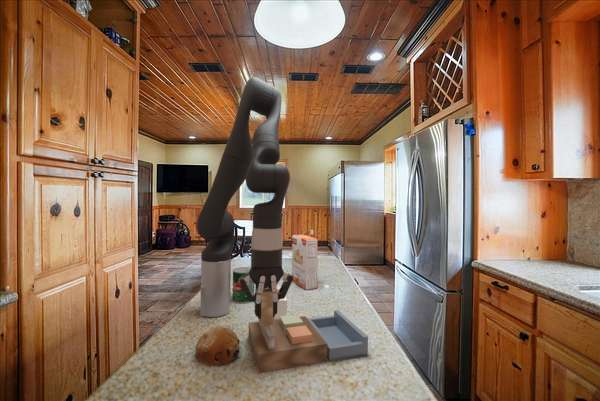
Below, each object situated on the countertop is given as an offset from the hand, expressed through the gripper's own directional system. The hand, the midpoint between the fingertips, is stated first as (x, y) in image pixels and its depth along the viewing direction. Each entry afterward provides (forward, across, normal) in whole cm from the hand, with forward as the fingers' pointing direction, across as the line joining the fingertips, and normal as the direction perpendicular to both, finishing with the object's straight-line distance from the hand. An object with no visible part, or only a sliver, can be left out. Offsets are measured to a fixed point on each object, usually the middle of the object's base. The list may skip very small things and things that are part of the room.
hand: (265, 316), depth 70 cm
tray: (+9, -18, 0) cm, 20 cm away
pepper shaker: (+9, -8, -18) cm, 22 cm away
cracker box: (+9, -26, -48) cm, 55 cm away
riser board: (+9, -5, 0) cm, 10 cm away
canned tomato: (+9, +1, -37) cm, 38 cm away
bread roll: (+9, +11, -2) cm, 14 cm away
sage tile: (+5, -8, -4) cm, 9 cm away
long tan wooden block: (+5, 0, 0) cm, 5 cm away
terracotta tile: (+5, -8, +4) cm, 9 cm away
